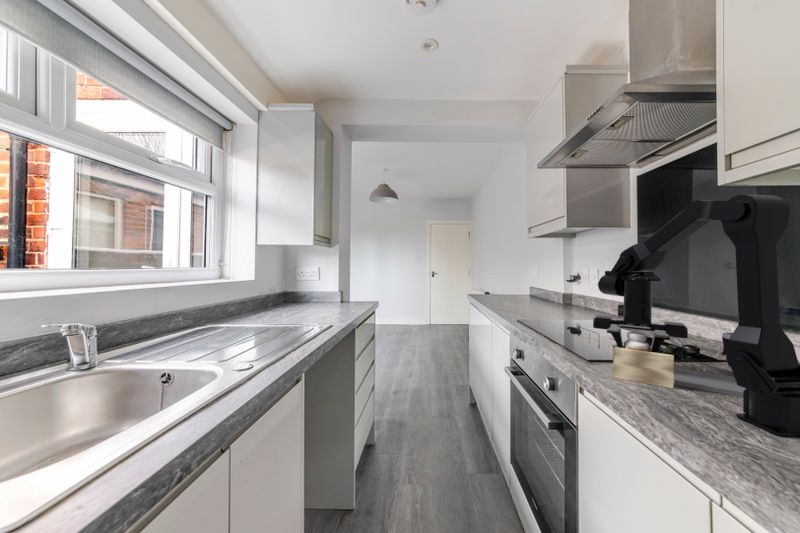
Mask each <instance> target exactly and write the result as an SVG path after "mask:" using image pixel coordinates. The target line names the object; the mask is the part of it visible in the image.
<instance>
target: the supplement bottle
mask: <svg viewBox="0 0 800 533" xmlns="http://www.w3.org/2000/svg"><path fill="white" fill-rule="evenodd" d="M647 336H648V335H647V334H646V333H643V332H638V331H628V332H627V333H626V338H627V340H625V341H624V342H623V348H625V349H632V350H639V351H647V352H650V351H651V346H650V344H649V342H646V341H647V340H648V337H647Z"/></svg>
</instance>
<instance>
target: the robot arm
mask: <svg viewBox="0 0 800 533" xmlns="http://www.w3.org/2000/svg"><path fill="white" fill-rule="evenodd" d="M790 213H791V207H790V203H789V202H788V200H786V199H784V198H782V197H780V196H778V195H767V194H766V195H765V194H737V195H734V196H731V198H729V199H728V200H715V199H714V200H713V199H712V200H711V199H695V200H692V201H690V202H688V203H687V204H686V206H685V207H684V209H683V210H681V211H680V212H679V213H678V214H677V215H676V216H674V217H673V218H672V219H671V220H669V221H668V222H667V223H666V224H665V225H663V226H662V227H661V228H660V229H659V230H657V231H656V232H655V233H654V234H652V235H651V236H650V237H649V238H648V239H646V240H644V241H641V242H639V243H635V244H633V245H630V247H627V248H626V249H624V250H623V251H621V253H620V254H619V257H618V259H617V261H616V262H615V264H614V266H613V267H612V268H611V270H605V271H604V274H603V275H602V276H601V277H600V278H599V280H598V283H597V288H598V290H599V291H600V292H601V294H604V295H607V296H608V295H609V296H616V297H623V304H617V316H618V317H619V318H622V319H623V320H619V319H613V316H607V315H596V316H595V317H594V318H593V321H592V325H593V326H592V328H593V329H600V330H606V334H611V337H612V338H613V339H614V341H615V343H616V347H618V348H624V342H623V337H622V336H623V335H622V329H629V330H638V331H639V330H641V331H649V332H653V335H652V342H651V346H650V352H654V353H658V350H659V349H660V347H661V346H662V345H663V343H664V341H666V340H667V341H670V340H671V338H679V339H688V338H689V337H688V336H689V335H688V333H689V330H688V327H687V325H685V324H684V323H682V322H676V321H666V320H665V321H664V322H663V324H661V323H652V317H653V316H652V313H653V312H652V310H653V303H652V302H653V300H652V299H653V282H661V281H662V280H661V278H660V277H659V276H657V275H656V274H655V273H654V271H655V270H656V269H657V268H658V267H659V266H660V265H661V264H662V263H663V262H664V260H665V255H666V254H667V253H668V252H670V251H671V250H672V249H674V248H675V247H676V246H678V245H679V244H681V243H682V242H683V241H685V240H686V239H687V238H689V237H690V236H691V235H693V234H694V233H695V232H697V231H699V230H700V229H701V228H703V227H704V226H705V225H707V224H708V223H709V222H711V221H713V220H714V221H720V222H721V226H722V231H723V233H724V234H725V236H726V237H727V238H728V239H729V241H730V242H731V243H732V245H733V246H734V254H735V275H736V276H735V278H736V279H735V280H736V282H735V283H736V297H737V298H736V299H737V300H736V301H737V302H736V303H737V322H738V323H737V326H736V327H735V329H734V330H733V332H723V333H722V334H721V335H722V336H721V339H722V343H723V344H722V345H723V349H722V352H721V355H722V356H725V361H726V364H727V365H728V367H730V369H731V371H732V373H733V377H735V380H736V382H737V385H738V386H741V387H744V388H746V389H745V390H744V391H743V397H742V399H743V400H742V403H743V404H742V408H743V409H742V411H743V413H736V414H735V416H736V418H739V419H740V420H743V421H745V422H747V423H749V424H752V425H754V426H756V427H758V428H761V429H763V430H765V431H768V432H770V433H771V434H773V435H777V436H780V437H781V436H785V437H787V436H788V437H789V436H791V437H792V436H795V437H797V436H798V437H799V436H800V363H799V360H798V357H797V353H796V349H795V346H794V343H793V342H792V340H791V339H790V338H789V337H788V335H787V334H786V333H785V330H783V329H782V326H781V316H780V315H781V314H780V298H779V297H780V296H779V277H778V275H779V274H778V259H777V258H778V255H777V245H778V242H779V240H780V239H781V238H782V236H783V235H784V233H785V231H786V230H787V229H788V223H789V220H790Z"/></svg>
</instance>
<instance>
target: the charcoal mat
mask: <svg viewBox="0 0 800 533" xmlns="http://www.w3.org/2000/svg"><path fill="white" fill-rule="evenodd" d="M673 384H674V386H678V387H683V388H689V387H690V389H694V388H695V390H701V391H706V392H711V393H716V392H717V393H716V394H722V395H728V396H734V397H739V398H743V391H744V390H745V389H746V388H744V387H741V386H738V385H737V382H736V380H735V377H734V376H731V375H725V374H718V373H711V372H705V371H698V370H693V369H687V368H679V367H674V379H673Z"/></svg>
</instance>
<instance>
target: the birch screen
mask: <svg viewBox="0 0 800 533" xmlns="http://www.w3.org/2000/svg"><path fill="white" fill-rule="evenodd" d="M612 357H613V362H612V364H613V365H612V366H613V367H612V368H613V369H612V375H613V376H612V377H613V378H616V379H620V380H621V379H622V380H627V381H632V382H637V383H643V384H646V385H648V384H649V385H653V386H658V387H663V388H664V387H665V388H668V389H669V388H670V389H674V380H673V379H674V368H675V367H674V366H675V363H674V362H675V356H674V354H667V353H660V352H657V353H654V352H647V351H639V350H632V349H625V348H624V347H623V348H618V346H614V347H613V356H612Z"/></svg>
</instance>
